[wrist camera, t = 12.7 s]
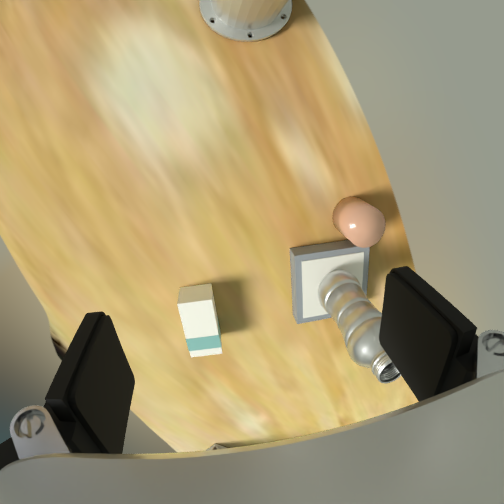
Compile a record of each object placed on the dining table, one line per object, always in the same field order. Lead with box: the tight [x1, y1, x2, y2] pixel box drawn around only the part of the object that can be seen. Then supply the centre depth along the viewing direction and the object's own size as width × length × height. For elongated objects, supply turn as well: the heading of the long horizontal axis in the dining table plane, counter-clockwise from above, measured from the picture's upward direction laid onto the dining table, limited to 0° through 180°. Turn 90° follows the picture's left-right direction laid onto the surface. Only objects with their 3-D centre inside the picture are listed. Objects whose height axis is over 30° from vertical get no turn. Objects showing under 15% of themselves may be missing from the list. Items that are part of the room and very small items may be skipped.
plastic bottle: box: [318, 270, 401, 383], centre depth 40 cm, size 6×7×20 cm
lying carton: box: [177, 283, 222, 357], centre depth 49 cm, size 10×5×5 cm, turn 6°
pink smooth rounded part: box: [333, 197, 385, 248], centre depth 46 cm, size 6×6×6 cm
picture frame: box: [290, 240, 370, 324], centre depth 51 cm, size 12×12×3 cm
